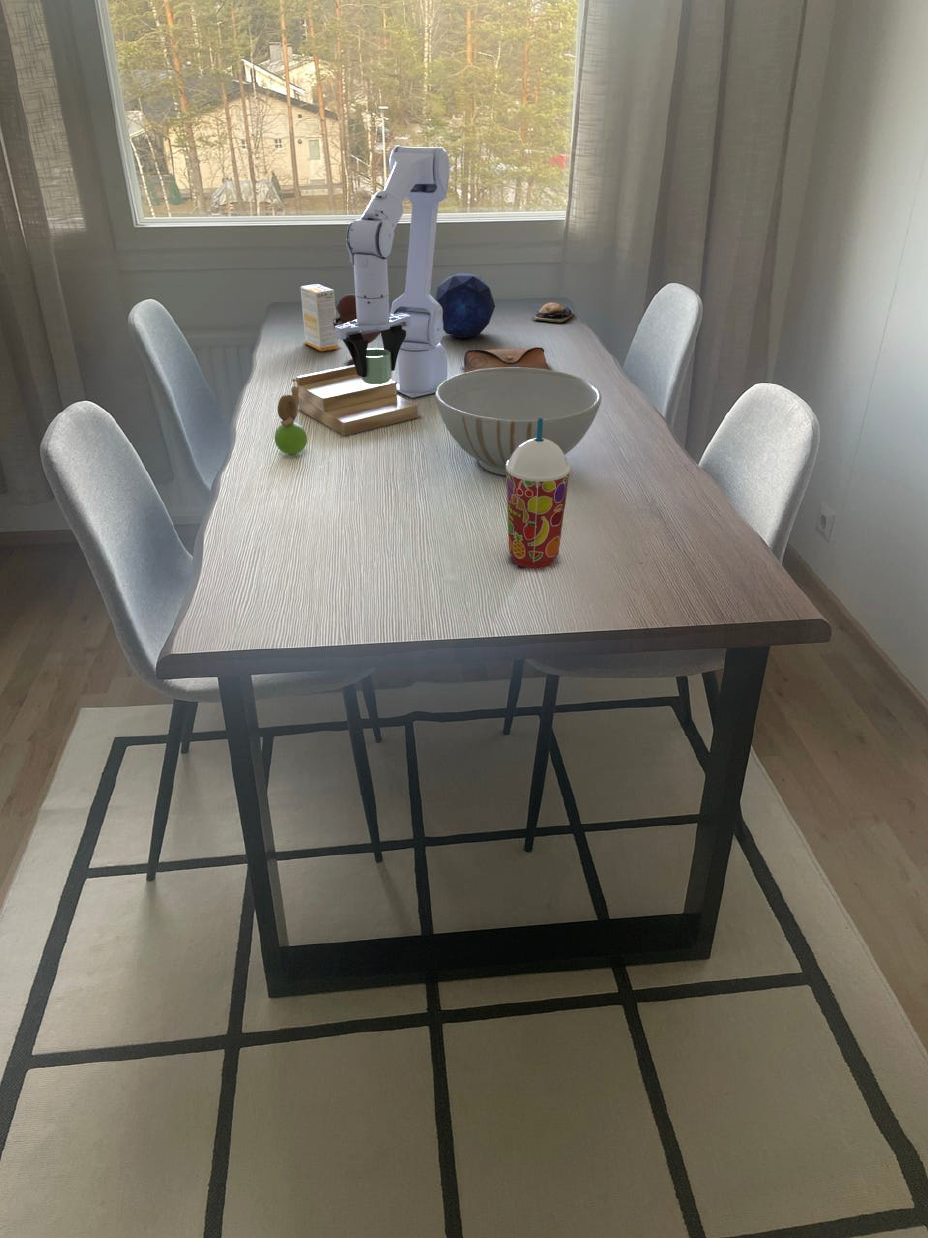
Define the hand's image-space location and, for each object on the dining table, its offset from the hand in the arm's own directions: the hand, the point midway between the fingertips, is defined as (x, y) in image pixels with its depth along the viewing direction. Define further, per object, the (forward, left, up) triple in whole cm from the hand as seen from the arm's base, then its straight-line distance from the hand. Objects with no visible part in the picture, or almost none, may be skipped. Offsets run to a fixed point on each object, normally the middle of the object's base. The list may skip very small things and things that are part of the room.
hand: (375, 372), depth 166 cm
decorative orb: (-48, -38, -10) cm, 62 cm away
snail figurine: (+20, +4, -10) cm, 22 cm away
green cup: (0, 0, -1) cm, 1 cm away
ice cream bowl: (-16, -33, -10) cm, 38 cm away
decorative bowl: (-8, +30, -10) cm, 32 cm away
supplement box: (-16, -50, -10) cm, 54 cm away
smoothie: (+12, +58, -10) cm, 60 cm away
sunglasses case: (-39, -10, -10) cm, 42 cm away
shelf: (+1, -6, -9) cm, 11 cm away
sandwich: (-77, -38, -10) cm, 87 cm away
